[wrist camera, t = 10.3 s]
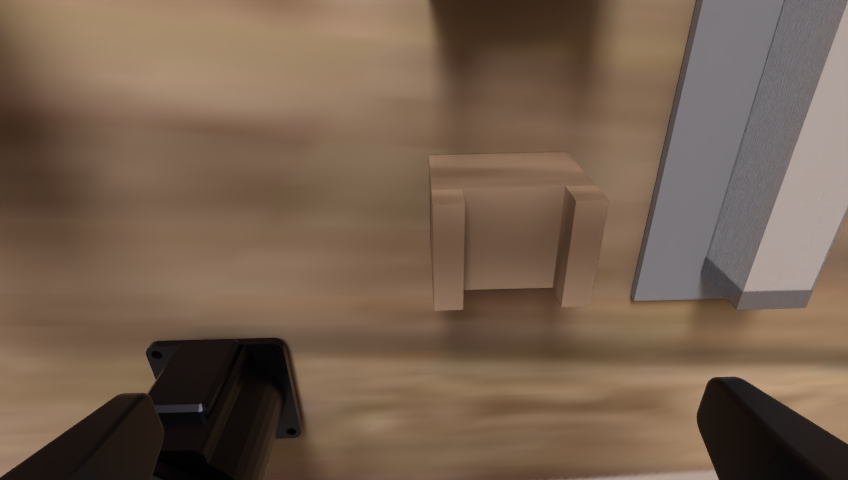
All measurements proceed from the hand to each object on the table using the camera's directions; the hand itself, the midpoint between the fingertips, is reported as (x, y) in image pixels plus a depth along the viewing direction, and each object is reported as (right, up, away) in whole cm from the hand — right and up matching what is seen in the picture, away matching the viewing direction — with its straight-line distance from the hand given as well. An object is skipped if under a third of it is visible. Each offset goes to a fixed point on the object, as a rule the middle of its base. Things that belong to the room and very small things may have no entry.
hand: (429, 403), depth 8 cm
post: (+3, +4, +12) cm, 13 cm away
